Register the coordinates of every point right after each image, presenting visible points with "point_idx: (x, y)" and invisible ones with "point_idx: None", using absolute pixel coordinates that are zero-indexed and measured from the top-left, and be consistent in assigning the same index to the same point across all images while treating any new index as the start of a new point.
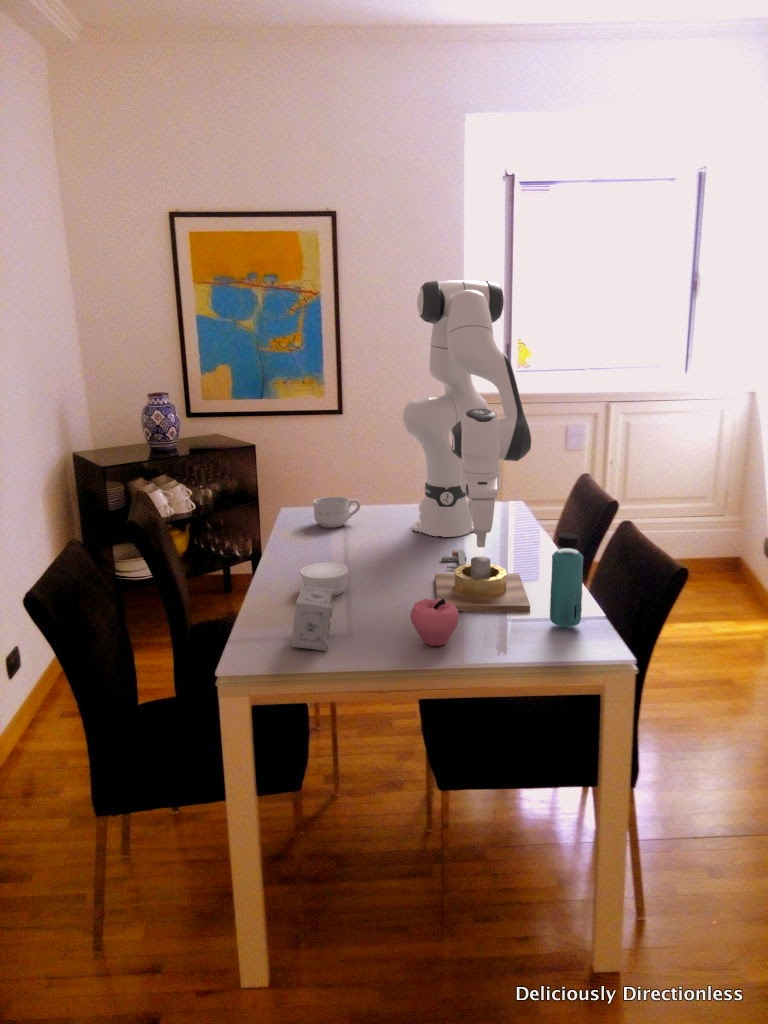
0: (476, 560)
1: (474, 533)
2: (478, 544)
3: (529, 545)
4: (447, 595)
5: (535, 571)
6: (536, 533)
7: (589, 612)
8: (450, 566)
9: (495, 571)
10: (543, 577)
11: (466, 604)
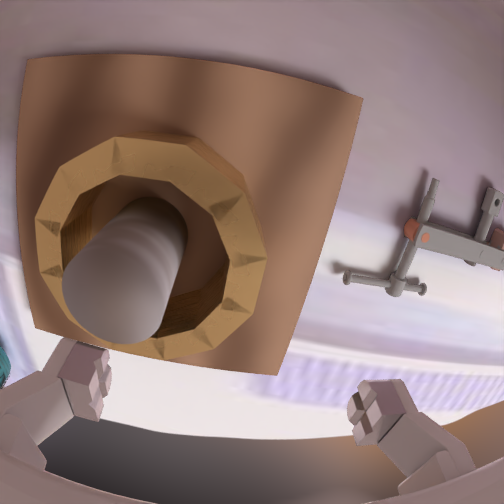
0: (97, 277)
1: (367, 382)
2: (57, 352)
3: (456, 398)
4: (99, 94)
5: (318, 400)
6: (486, 405)
7: None
8: (433, 191)
9: (176, 325)
10: (272, 406)
11: (23, 156)
